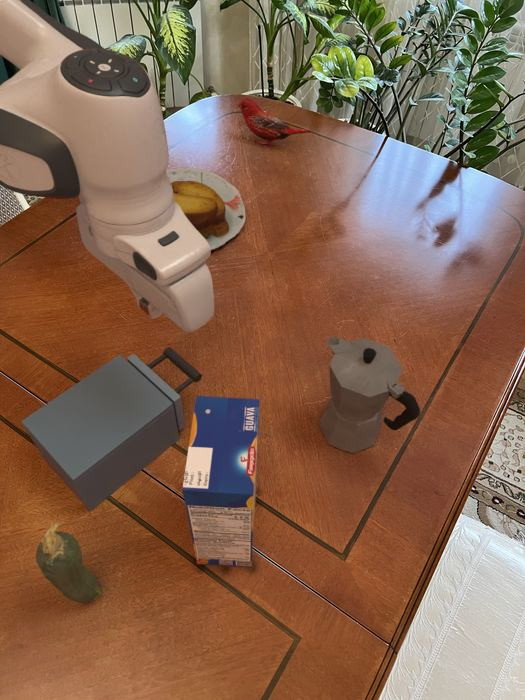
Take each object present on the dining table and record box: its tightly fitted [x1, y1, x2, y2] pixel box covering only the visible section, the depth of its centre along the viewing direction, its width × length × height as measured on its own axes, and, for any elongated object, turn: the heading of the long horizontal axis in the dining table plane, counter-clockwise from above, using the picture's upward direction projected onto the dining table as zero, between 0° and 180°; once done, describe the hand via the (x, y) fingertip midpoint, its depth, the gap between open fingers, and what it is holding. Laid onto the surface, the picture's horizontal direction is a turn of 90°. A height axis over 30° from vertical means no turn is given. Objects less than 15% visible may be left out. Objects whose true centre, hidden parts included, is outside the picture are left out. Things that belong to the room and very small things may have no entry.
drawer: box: [126, 346, 203, 432], centre depth 81 cm, size 20×10×8 cm, turn 136°
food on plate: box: [167, 167, 247, 251], centre depth 112 cm, size 25×25×7 cm
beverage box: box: [181, 395, 261, 568], centre depth 67 cm, size 7×11×22 cm, turn 177°
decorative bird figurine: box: [236, 97, 312, 147], centre depth 127 cm, size 3×18×10 cm, turn 67°
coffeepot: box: [318, 336, 421, 454], centre depth 78 cm, size 15×9×18 cm, turn 43°
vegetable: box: [35, 520, 102, 605], centre depth 62 cm, size 4×4×20 cm
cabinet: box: [21, 354, 180, 512], centre depth 78 cm, size 16×12×10 cm
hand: (151, 310), depth 70 cm, fingers closed
